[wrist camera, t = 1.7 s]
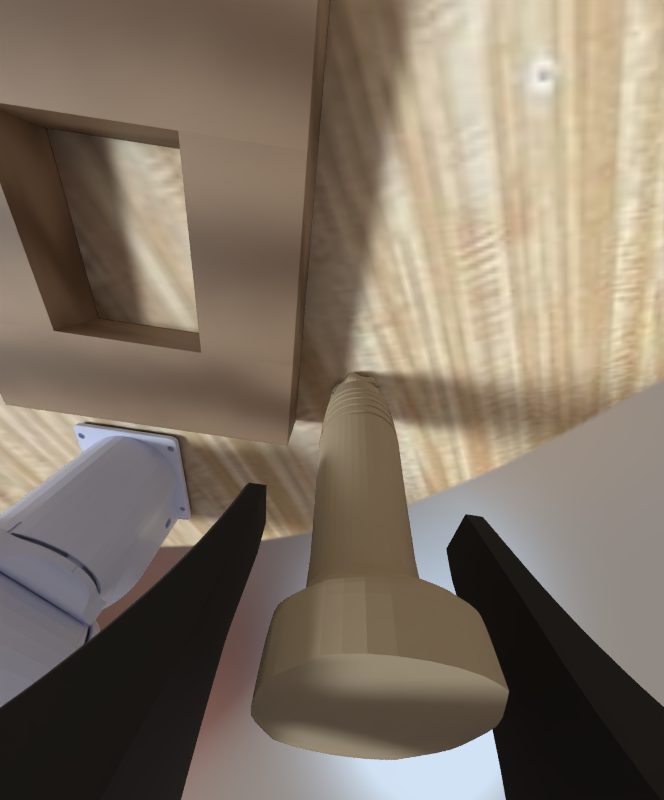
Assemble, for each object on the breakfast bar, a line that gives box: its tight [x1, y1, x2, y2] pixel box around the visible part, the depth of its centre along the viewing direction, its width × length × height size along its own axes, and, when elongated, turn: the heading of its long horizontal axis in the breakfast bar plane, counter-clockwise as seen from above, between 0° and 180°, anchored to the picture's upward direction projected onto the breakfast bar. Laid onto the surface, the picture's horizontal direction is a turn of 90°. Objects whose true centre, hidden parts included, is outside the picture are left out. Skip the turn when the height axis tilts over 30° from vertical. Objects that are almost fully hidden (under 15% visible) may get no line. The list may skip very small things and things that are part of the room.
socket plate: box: [0, 0, 330, 446], centre depth 14 cm, size 20×18×3 cm
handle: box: [251, 372, 509, 760], centre depth 12 cm, size 5×6×15 cm
